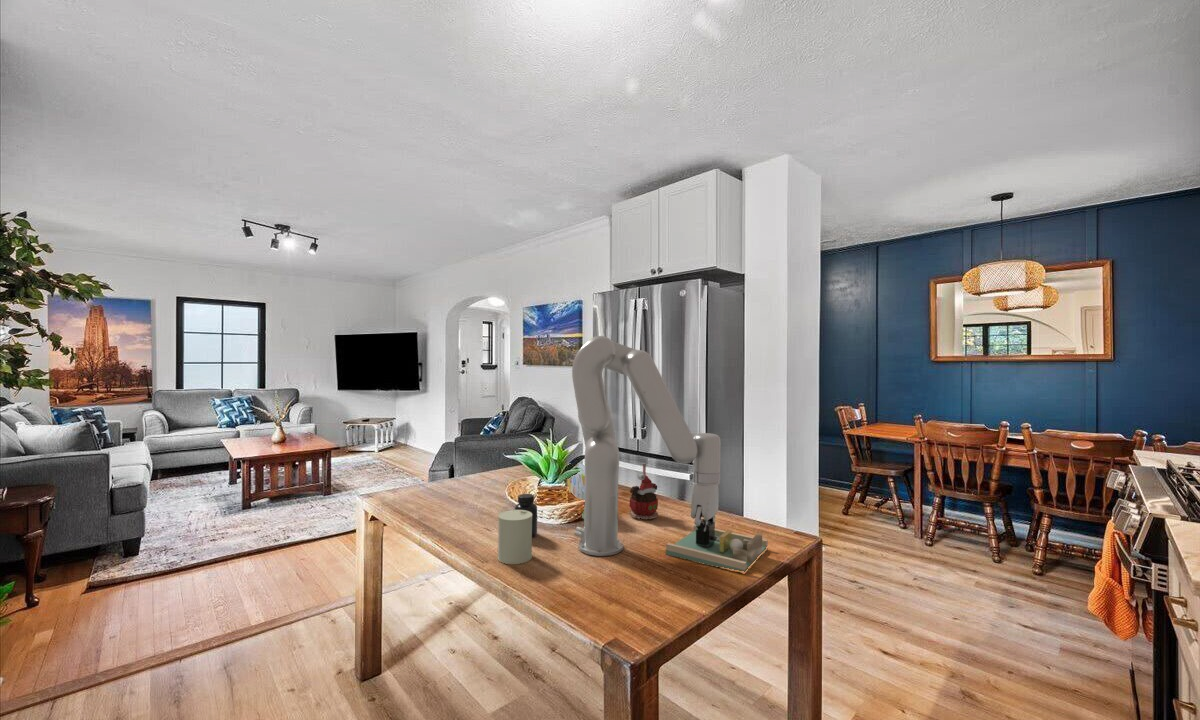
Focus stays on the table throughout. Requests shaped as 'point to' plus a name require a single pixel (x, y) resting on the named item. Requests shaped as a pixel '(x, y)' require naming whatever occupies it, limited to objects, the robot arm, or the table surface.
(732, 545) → the ball
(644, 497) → the santa hat candy apple
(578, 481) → the snack box
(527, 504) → the supplement bottle
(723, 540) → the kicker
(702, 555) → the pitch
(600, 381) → the robot arm
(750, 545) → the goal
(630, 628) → the table surface
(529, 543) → the can
